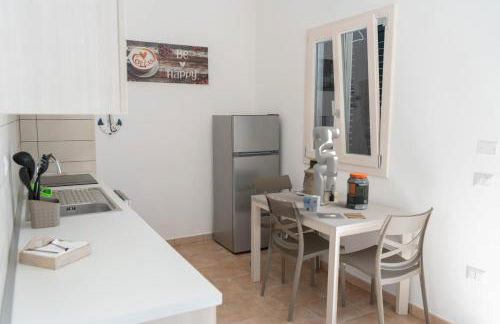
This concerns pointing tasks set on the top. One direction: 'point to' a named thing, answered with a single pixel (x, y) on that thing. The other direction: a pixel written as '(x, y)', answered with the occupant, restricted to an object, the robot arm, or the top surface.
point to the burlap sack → (308, 180)
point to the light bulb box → (311, 203)
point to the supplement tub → (357, 191)
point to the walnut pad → (355, 215)
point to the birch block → (327, 194)
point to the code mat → (330, 215)
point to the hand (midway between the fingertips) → (330, 199)
